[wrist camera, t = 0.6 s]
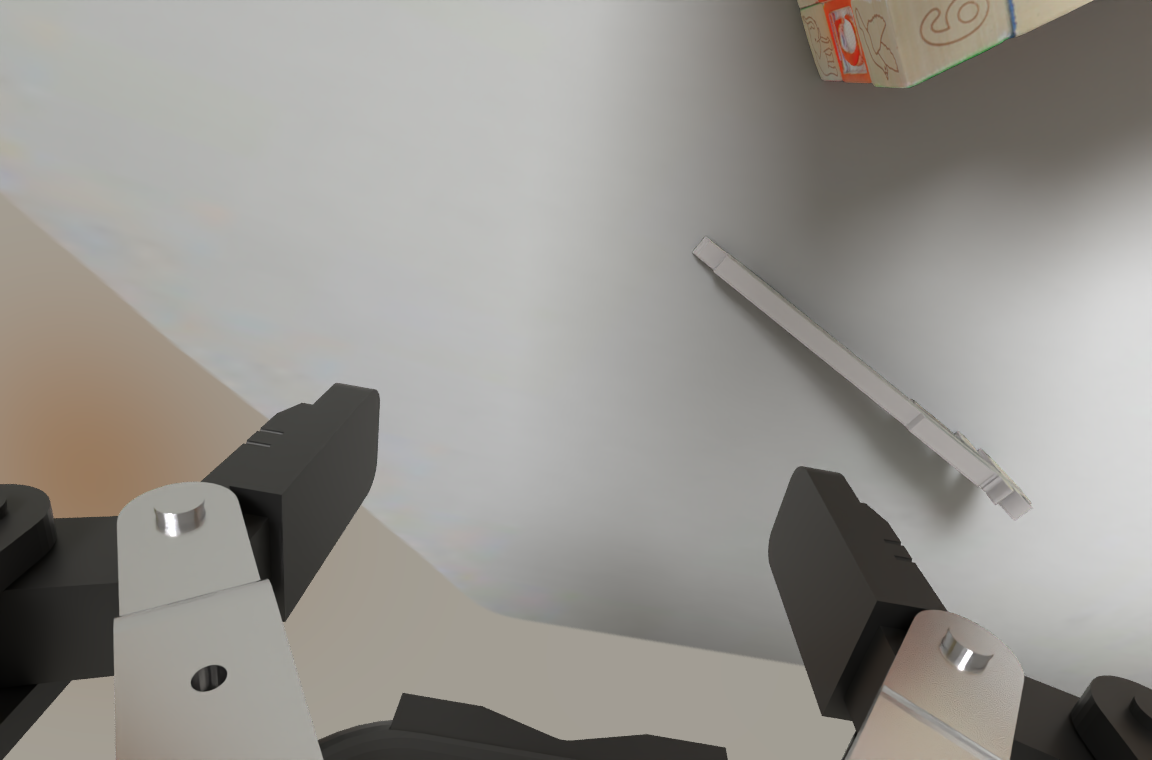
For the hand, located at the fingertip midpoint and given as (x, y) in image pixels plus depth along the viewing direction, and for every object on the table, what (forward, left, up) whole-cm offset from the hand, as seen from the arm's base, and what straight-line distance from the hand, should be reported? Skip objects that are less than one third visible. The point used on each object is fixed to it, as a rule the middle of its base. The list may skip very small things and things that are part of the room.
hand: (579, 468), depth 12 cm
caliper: (+4, +14, -21) cm, 26 cm away
